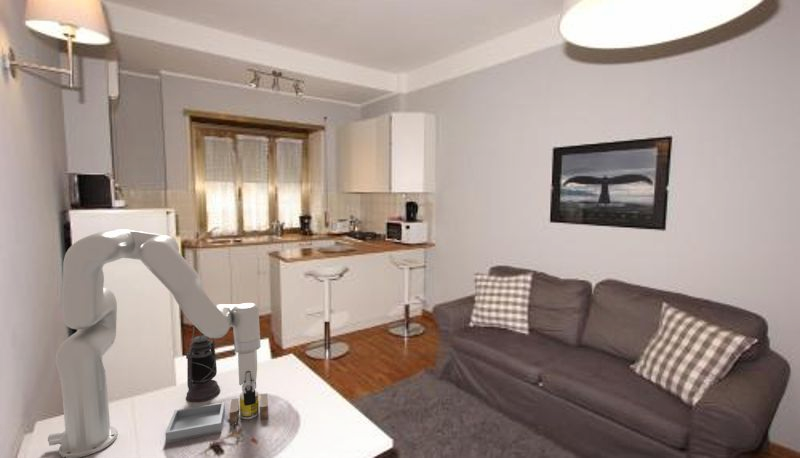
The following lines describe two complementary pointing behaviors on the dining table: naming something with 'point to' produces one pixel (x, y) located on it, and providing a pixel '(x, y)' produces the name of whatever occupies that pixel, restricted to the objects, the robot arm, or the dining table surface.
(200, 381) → the lantern
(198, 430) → the tray
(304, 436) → the dining table surface
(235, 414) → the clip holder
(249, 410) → the supplement bottle
